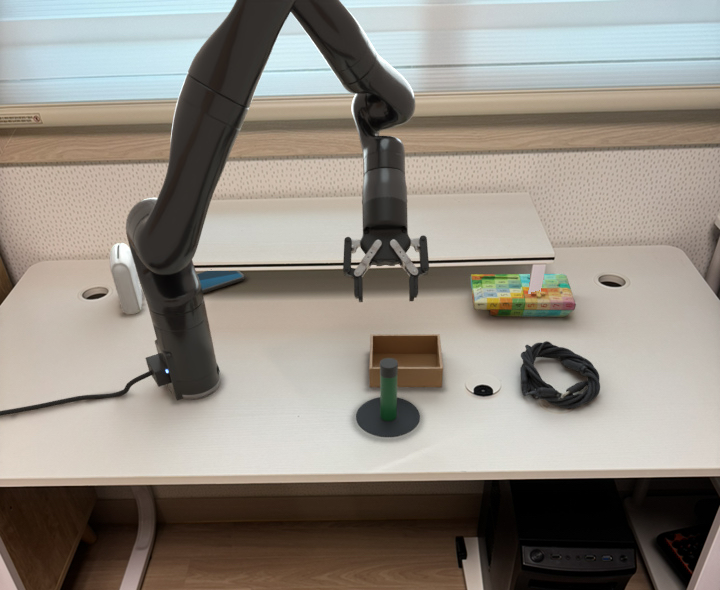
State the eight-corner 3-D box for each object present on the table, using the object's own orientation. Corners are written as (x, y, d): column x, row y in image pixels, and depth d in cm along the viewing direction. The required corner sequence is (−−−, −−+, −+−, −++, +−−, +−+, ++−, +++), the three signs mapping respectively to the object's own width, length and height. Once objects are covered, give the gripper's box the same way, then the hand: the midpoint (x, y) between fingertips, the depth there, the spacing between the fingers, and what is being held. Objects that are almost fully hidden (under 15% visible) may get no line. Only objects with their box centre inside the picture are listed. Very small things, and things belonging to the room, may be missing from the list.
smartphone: (170, 285, 153) (169, 282, 153) (231, 266, 159) (231, 262, 159) (183, 300, 149) (182, 296, 148) (246, 279, 155) (246, 276, 154)
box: (369, 389, 125) (369, 368, 122) (370, 354, 133) (370, 334, 130) (441, 389, 125) (443, 368, 122) (438, 354, 133) (439, 334, 130)
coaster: (377, 447, 114) (377, 445, 114) (344, 411, 121) (344, 409, 120) (432, 425, 118) (432, 422, 117) (397, 391, 125) (397, 389, 124)
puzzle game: (576, 299, 137) (475, 299, 138) (572, 320, 140) (472, 319, 141) (567, 271, 145) (471, 270, 146) (562, 291, 148) (469, 290, 149)
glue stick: (385, 423, 118) (385, 370, 110) (376, 414, 119) (376, 361, 112) (400, 417, 119) (401, 364, 111) (391, 408, 120) (391, 355, 113)
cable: (518, 350, 133) (521, 331, 130) (593, 356, 131) (598, 336, 128) (518, 406, 121) (521, 385, 118) (600, 412, 119) (606, 392, 116)
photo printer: (123, 292, 152) (107, 238, 143) (143, 289, 153) (128, 236, 144) (122, 316, 145) (105, 261, 136) (143, 313, 146) (128, 258, 137)
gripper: (341, 195, 112) (343, 295, 112) (429, 193, 112) (431, 293, 112) (343, 213, 120) (344, 307, 119) (425, 212, 119) (427, 305, 119)
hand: (386, 300), depth 116 cm, fingers open, 8 cm apart
